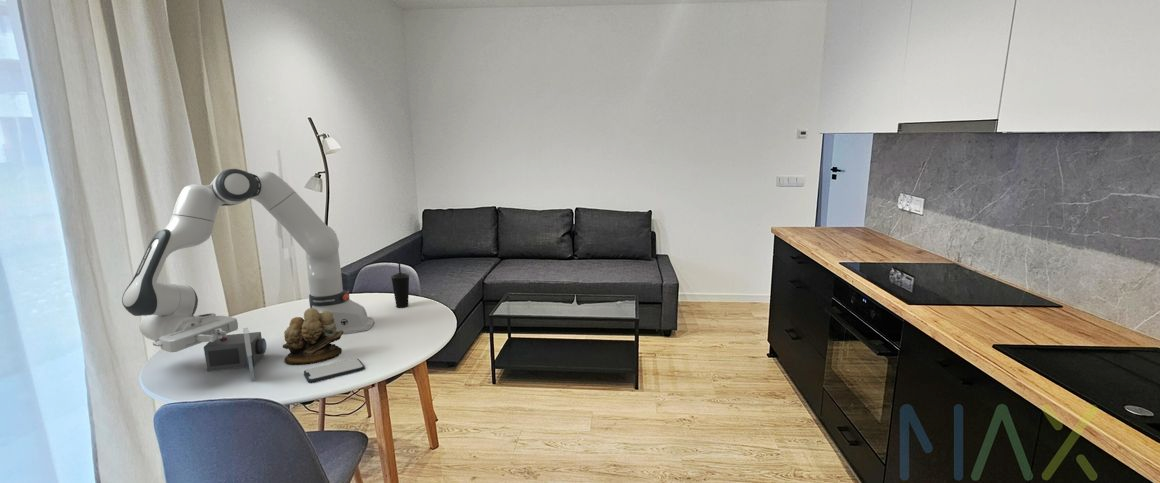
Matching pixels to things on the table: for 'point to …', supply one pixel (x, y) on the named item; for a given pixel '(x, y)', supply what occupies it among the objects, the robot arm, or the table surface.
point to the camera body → (233, 351)
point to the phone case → (333, 370)
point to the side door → (248, 352)
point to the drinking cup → (401, 288)
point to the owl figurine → (312, 338)
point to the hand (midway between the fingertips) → (219, 336)
